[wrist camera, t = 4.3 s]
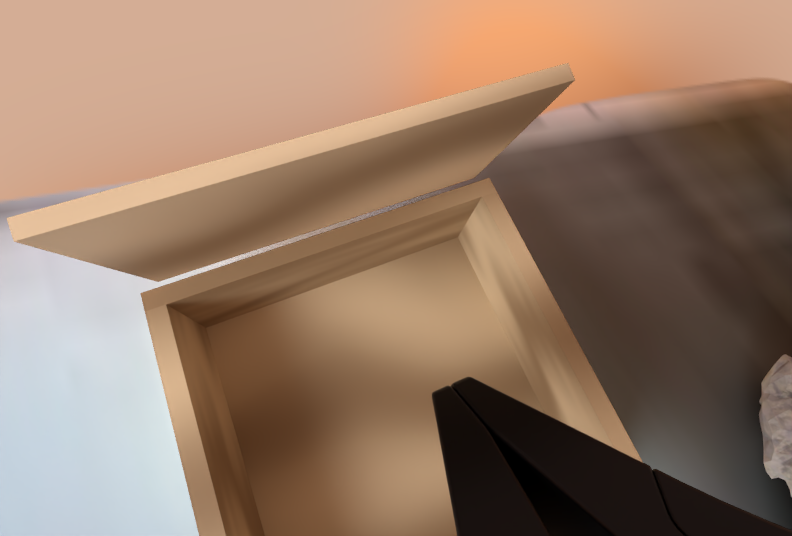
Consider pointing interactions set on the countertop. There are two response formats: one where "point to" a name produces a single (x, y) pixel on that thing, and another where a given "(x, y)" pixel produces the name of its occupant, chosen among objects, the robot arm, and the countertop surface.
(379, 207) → the flap
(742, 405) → the countertop surface
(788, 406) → the rock
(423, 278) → the carton
